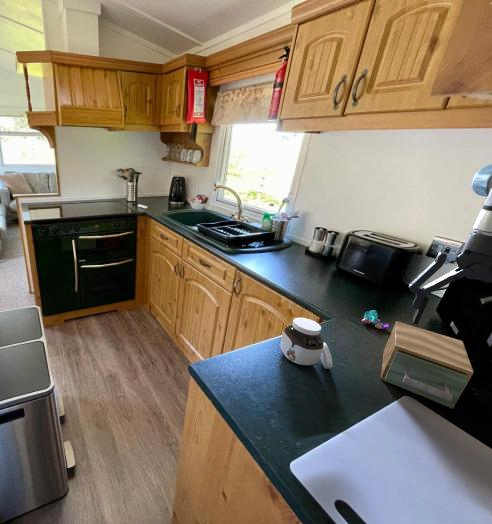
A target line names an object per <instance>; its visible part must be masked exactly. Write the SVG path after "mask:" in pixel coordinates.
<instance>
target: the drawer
mask: <svg viewBox="0 0 492 524" xmlns="http://www.w3.org/2000/svg"><path fill="white" fill-rule="evenodd" d="M468 379H469V377H468V375H465V374H462V373H461V371H458V370H455V369H452V368H449V367H446V366H443V365H441V364H438V363H435V362H432V361H429V360H426V359H423V358H421V357H418V356H415V355H412V354H409V353H406V352H403V351H401V350H398V351H396V354H395V356H394V358H393V360H392V363H391V365H390V367H389V370H388V372H387V374H386V376H385V380H383V382H386V383H389V384H391V385H393V386H396V387H398V388H401V389H403V390H406V391H408V392H411V393H413V394H415V395H418V396H421V397H422V398H425V399H428V400H430V401H433V402H435V403H437V404H440V405H443V406H445V407H448V408H450V409H452V408H453V406H454V404H455V402H456V401H457V399H458V397H459V395H460V393H461V392H462V390H463V388H464V386H465V385H466V383H467V381H468ZM468 382H469V381H468ZM467 384H468V383H467ZM466 386H467V385H466ZM464 389H465V388H464ZM463 391H464V390H463ZM462 393H463V392H462ZM460 396H461V395H460ZM459 398H460V397H459ZM458 400H459V399H458ZM457 402H458V401H457ZM457 402H456V403H457ZM455 405H456V404H455ZM454 407H455V406H454ZM453 409H454V408H453Z"/></svg>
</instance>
